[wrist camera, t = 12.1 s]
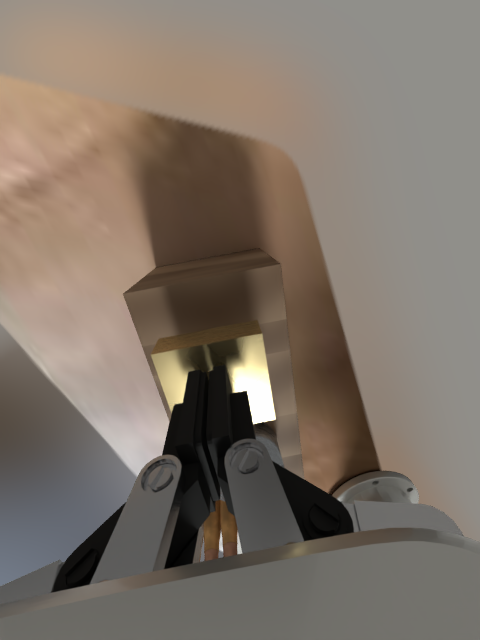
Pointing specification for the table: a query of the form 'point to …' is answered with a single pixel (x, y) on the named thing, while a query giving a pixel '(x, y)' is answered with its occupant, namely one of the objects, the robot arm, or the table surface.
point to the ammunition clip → (216, 525)
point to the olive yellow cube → (218, 363)
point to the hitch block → (224, 322)
